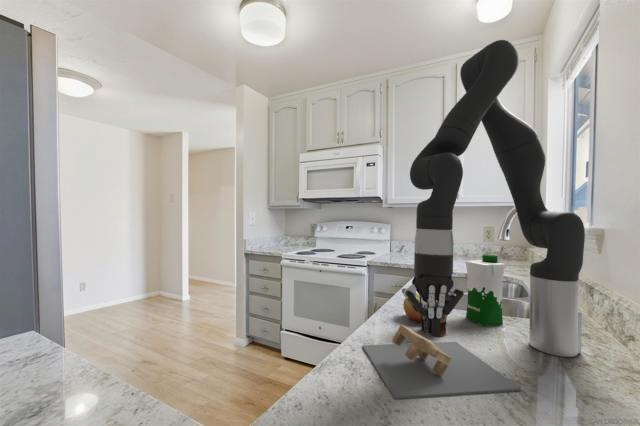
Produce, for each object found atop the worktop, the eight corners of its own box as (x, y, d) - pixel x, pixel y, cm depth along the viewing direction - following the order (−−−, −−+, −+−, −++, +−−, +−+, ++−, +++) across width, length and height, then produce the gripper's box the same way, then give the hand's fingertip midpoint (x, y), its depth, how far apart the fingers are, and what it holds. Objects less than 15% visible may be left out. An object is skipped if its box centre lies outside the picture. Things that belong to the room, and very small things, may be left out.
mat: (455, 343, 73) (456, 341, 73) (521, 390, 53) (521, 388, 53) (362, 347, 70) (362, 345, 70) (394, 399, 50) (394, 396, 50)
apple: (440, 318, 91) (440, 292, 92) (433, 328, 83) (434, 299, 83) (408, 312, 97) (408, 287, 97) (399, 320, 88) (399, 294, 89)
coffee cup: (454, 340, 75) (455, 289, 75) (420, 337, 76) (420, 287, 77) (446, 328, 83) (447, 282, 84) (416, 325, 85) (416, 280, 85)
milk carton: (508, 325, 87) (508, 257, 87) (483, 328, 84) (484, 257, 84) (483, 315, 95) (484, 253, 95) (460, 317, 92) (461, 254, 93)
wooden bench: (430, 341, 65) (401, 324, 64) (451, 358, 57) (418, 339, 56) (422, 357, 65) (392, 340, 64) (441, 377, 57) (407, 358, 56)
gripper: (452, 249, 66) (451, 327, 65) (395, 248, 64) (394, 328, 64) (474, 253, 58) (473, 341, 58) (411, 253, 56) (409, 343, 56)
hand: (431, 334), depth 61 cm, fingers closed
